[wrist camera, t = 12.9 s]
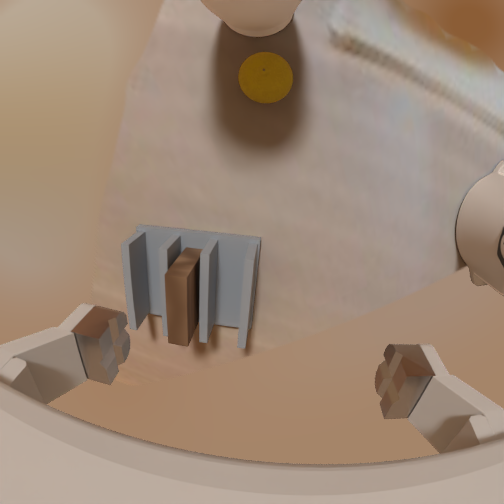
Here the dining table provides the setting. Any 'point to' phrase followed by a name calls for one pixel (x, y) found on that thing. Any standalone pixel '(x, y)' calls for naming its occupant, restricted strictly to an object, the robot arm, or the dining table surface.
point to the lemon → (265, 77)
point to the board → (183, 296)
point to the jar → (254, 15)
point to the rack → (211, 276)
